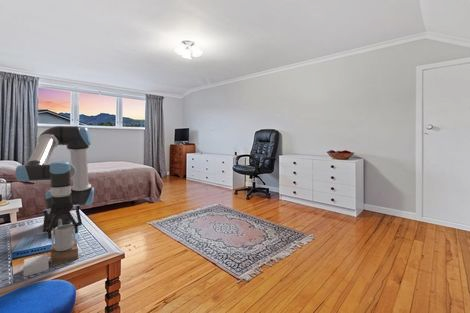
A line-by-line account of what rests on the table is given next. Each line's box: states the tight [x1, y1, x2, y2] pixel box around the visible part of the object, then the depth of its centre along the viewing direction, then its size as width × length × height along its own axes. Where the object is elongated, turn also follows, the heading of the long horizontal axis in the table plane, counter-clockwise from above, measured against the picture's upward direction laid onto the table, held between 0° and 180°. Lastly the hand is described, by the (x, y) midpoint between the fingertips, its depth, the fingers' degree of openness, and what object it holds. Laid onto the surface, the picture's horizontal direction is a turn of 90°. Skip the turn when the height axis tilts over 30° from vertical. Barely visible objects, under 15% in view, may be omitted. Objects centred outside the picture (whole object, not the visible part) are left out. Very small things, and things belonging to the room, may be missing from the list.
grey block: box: [22, 253, 50, 277], centre depth 101 cm, size 8×8×4 cm
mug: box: [53, 219, 74, 251], centre depth 110 cm, size 8×12×12 cm, turn 50°
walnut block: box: [49, 241, 79, 267], centre depth 111 cm, size 10×10×5 cm
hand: (63, 242), depth 110 cm, fingers closed on mug, 7 cm apart
